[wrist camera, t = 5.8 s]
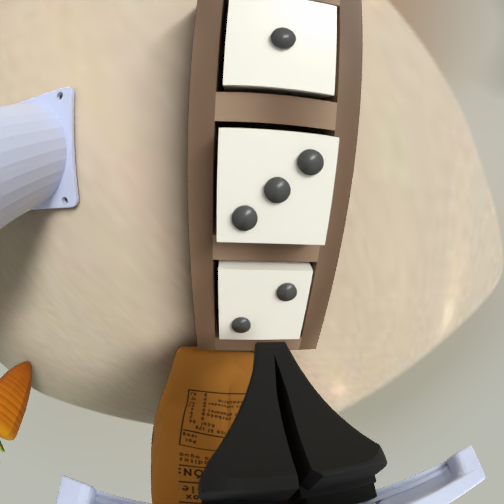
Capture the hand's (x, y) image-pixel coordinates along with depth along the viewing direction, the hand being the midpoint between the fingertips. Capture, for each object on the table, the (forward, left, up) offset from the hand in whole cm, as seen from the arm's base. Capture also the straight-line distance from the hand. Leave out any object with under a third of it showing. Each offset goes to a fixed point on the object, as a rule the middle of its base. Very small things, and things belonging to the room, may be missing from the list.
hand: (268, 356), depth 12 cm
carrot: (-27, -14, -7) cm, 31 cm away
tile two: (0, 0, -7) cm, 7 cm away
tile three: (0, +7, -6) cm, 9 cm away
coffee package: (-3, -12, -7) cm, 14 cm away
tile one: (0, +14, -7) cm, 16 cm away
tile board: (0, +7, -7) cm, 10 cm away
